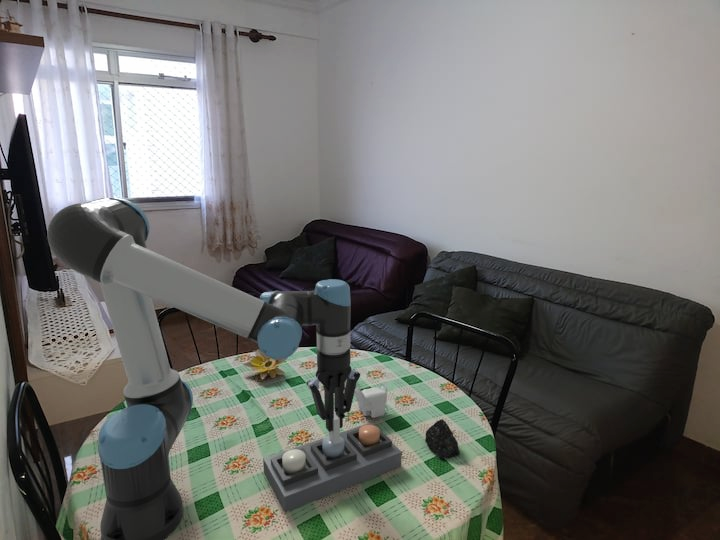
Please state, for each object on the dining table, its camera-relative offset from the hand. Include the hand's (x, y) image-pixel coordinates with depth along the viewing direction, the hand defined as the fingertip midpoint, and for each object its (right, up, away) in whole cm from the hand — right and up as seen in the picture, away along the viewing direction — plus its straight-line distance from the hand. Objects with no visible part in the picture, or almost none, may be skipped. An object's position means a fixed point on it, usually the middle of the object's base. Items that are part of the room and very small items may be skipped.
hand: (334, 440), depth 105 cm
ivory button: (-9, -4, -4) cm, 11 cm away
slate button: (0, -3, +1) cm, 3 cm away
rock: (+28, -6, +11) cm, 31 cm away
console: (0, -8, +2) cm, 8 cm away
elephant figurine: (+10, -2, +26) cm, 28 cm away
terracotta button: (+8, -2, +6) cm, 10 cm away
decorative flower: (-27, +5, +49) cm, 56 cm away
